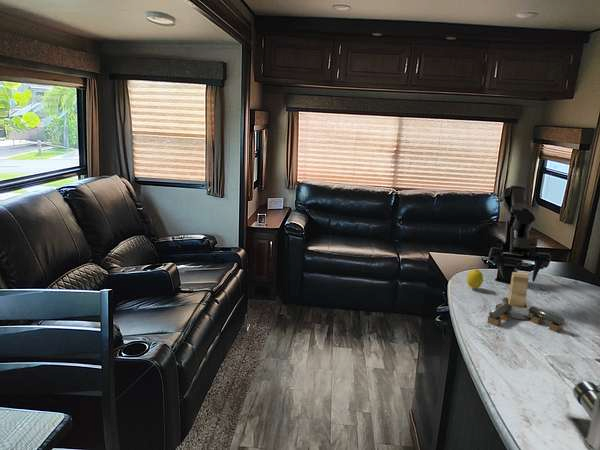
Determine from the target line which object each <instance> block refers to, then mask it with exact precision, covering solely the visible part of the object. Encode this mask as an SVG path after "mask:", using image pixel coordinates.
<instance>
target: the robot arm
mask: <svg viewBox="0 0 600 450" xmlns="http://www.w3.org/2000/svg"><path fill="white" fill-rule="evenodd" d="M501 195H502V196H501V199H502V200H503V201H502V203H503V206H504V208H505V210H506V218H505V219H506V220H505V233H504V235H505V236H504V243H503V244H502V245H501V247H494V246H492V247H490V249H489V254H488V261H489V262H492V263H493V264H494V265H496V266H497V267H496V268H497V273H496V278H494V280H495V281H497V282H501V283H505V284H509V285H511V279H512V272H517V273H519V272H518V270H520V269H521V268H522V265H523V261H525V262H526V261H527V262H534V266H533V270H532V282H533V283H534V282H535V281H536V278H537V276H538V273H539V271H540V270H543V269H546V268H548V267H549V265H550V263H551V261H552V255H551V254H550V253H549V252H548V253H547V252H539V251H538V252H537V253H536V255H531V254H530V253H531V249H532V248H537V247H538V237H532V236H531V237H530V238H529V233H530V231H531V229H532V226H533V224H534V222H535V221H536V217H535V216H534V213H533V212H532V211H531V208H530V207H529V206H527V205H526V199H527V189H526V188H525V186H523V185H510V187H506V188H503V190H502V194H501ZM517 269H518V270H517Z"/></svg>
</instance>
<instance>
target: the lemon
mask: <svg viewBox="0 0 600 450" xmlns="http://www.w3.org/2000/svg"><path fill="white" fill-rule="evenodd" d="M483 277H484V276H483V272H481V271H480V270H479V269H477V268H475V269H471V270H470V271H469V272H468V274H467V277H466V281H467V285H468V286H469V287H470V288H472V289H473V290H475V289H477V288H479V287H481V286H482V285H483V282H484V278H483Z"/></svg>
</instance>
